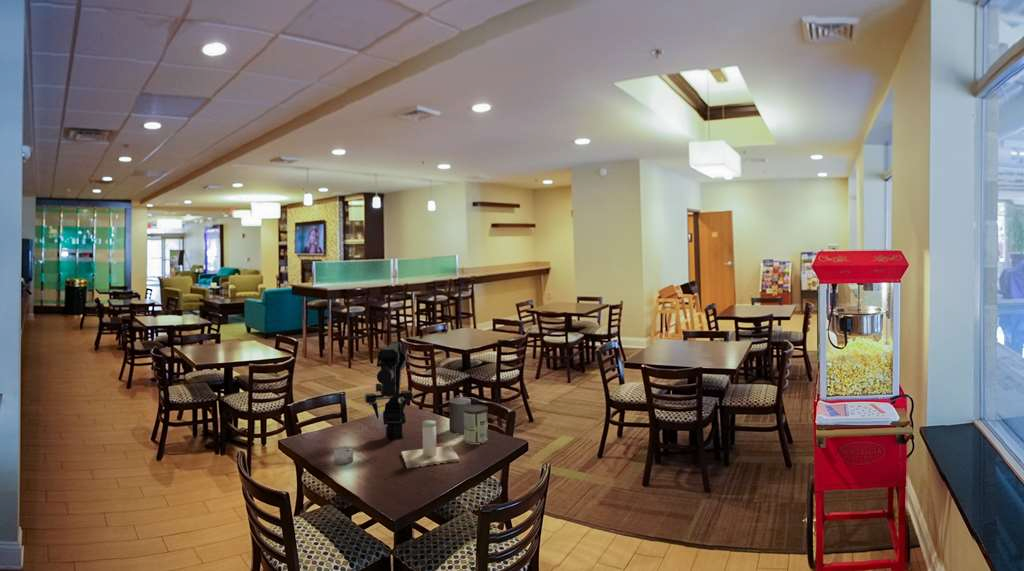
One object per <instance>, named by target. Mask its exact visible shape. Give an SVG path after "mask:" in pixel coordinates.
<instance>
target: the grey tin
mask: <svg viewBox="0 0 1024 571" xmlns="http://www.w3.org/2000/svg"><path fill="white" fill-rule="evenodd" d="M333 460H334V461H333V462H334V465H335V466H338V465H339V467H341V466H342V465H344V466H348V464H349V465H351V464H353V463H352V462H354V447H352V446H340V447H336V448H335V449H334V450H333ZM342 467H343V466H342Z"/></svg>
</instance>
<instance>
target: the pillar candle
mask: <svg viewBox="0 0 1024 571" xmlns="http://www.w3.org/2000/svg"><path fill="white" fill-rule="evenodd" d="M448 403H449V409H448V410H449V414H448V416H449V420H448V421H449V424H448V425H449V426H448V428H449V432H450V433H451V432H452V434H455V433H463V434H464V411H463V408H464V407H466V406H469V405H472V402H471V399H470V398H467V397H454V398H451V399H449V402H448Z"/></svg>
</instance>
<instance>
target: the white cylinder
mask: <svg viewBox="0 0 1024 571" xmlns="http://www.w3.org/2000/svg"><path fill="white" fill-rule="evenodd" d="M421 425H422V449H423V456H424V457H434V456H436V447H437V421H436V420H435V419H425V420H423V421H422V422H421Z"/></svg>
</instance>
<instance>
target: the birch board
mask: <svg viewBox="0 0 1024 571" xmlns="http://www.w3.org/2000/svg"><path fill="white" fill-rule="evenodd" d="M401 456H402V460H403V459H404V460H403V462H404V464H405V467H406V469H412V468H420V467H419V466H421V467H428V466H427V465H429V466H434V465H433V464H437V465H441V464H440V463H444V464H448V463H447V462H452V463H456V462H455V461H459V462H460V457H459V456H458V454H457V452H456V450H454V448H453V446H452V445H443V446H436V456H434V457H424V456H423V448H418V449H410V450H402V451H401Z"/></svg>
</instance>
